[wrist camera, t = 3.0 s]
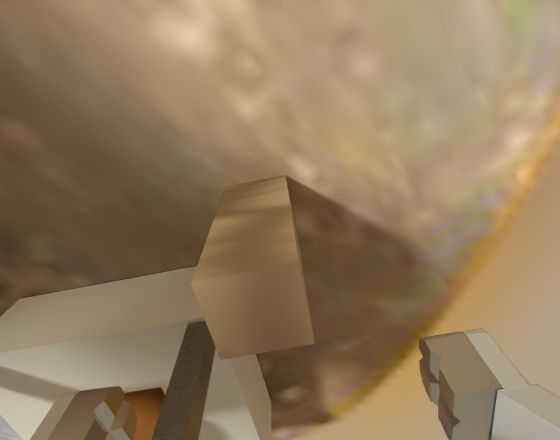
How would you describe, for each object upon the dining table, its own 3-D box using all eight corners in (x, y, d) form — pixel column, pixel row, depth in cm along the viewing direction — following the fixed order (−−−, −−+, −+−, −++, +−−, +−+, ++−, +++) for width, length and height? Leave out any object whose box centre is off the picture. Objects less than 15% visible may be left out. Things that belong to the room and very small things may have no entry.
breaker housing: (108, 427, 27) (77, 499, 23) (19, 298, 21) (-48, 361, 17) (271, 402, 26) (271, 471, 22) (225, 260, 20) (213, 315, 16)
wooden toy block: (240, 239, 20) (220, 359, 12) (225, 187, 18) (190, 283, 10) (296, 229, 20) (315, 344, 12) (285, 175, 18) (298, 263, 10)
